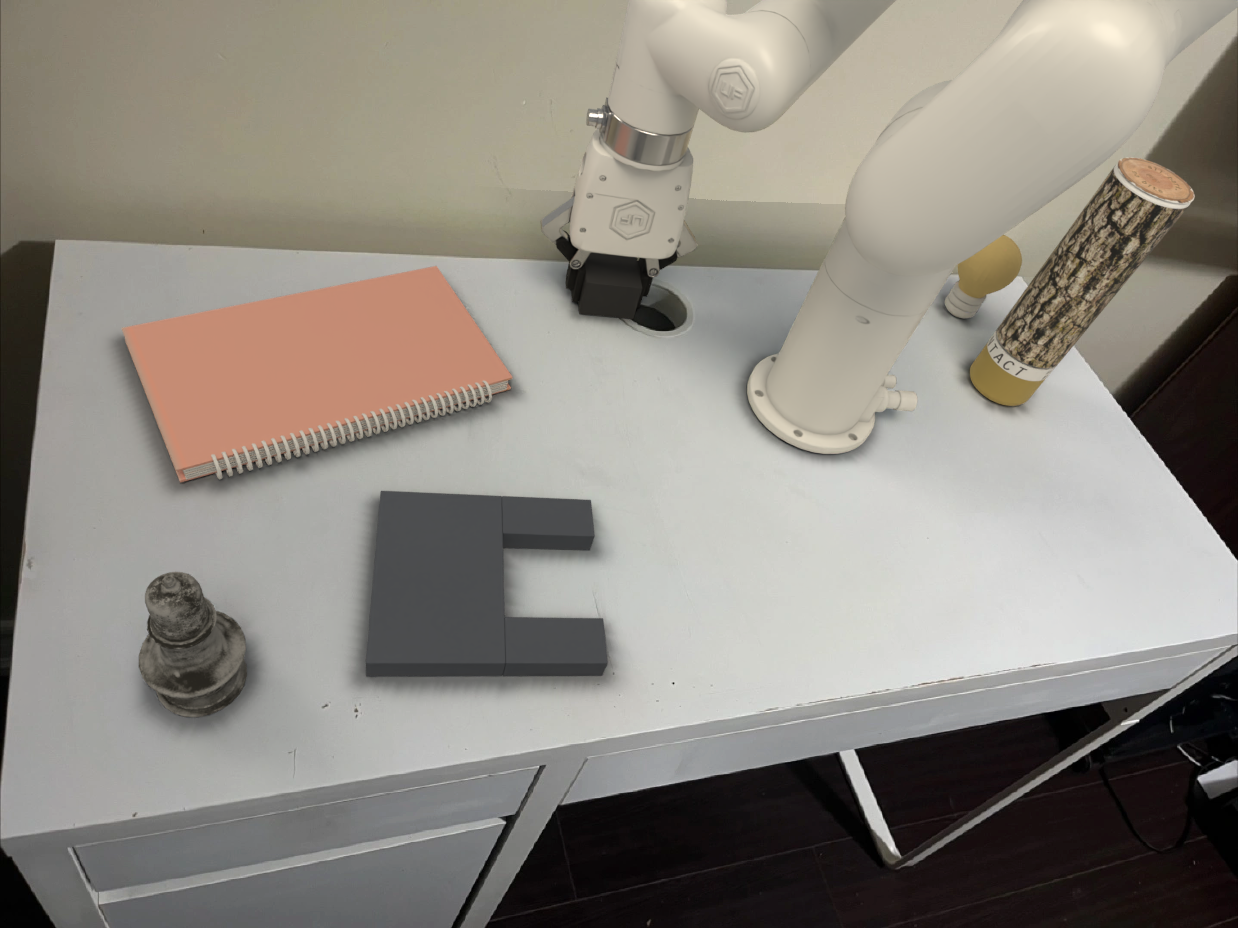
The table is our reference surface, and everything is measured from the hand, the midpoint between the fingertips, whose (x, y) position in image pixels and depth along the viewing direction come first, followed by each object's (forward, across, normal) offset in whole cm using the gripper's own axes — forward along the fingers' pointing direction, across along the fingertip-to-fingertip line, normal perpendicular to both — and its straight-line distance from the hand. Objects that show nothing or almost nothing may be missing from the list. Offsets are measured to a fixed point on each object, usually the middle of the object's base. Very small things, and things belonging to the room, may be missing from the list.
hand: (604, 294), depth 86 cm
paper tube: (+1, +42, -8) cm, 43 cm away
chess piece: (+1, -30, -41) cm, 51 cm away
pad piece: (0, 0, 0) cm, 0 cm away
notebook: (+1, -25, -13) cm, 28 cm away
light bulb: (+1, +42, +4) cm, 42 cm away
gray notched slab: (0, -12, -34) cm, 36 cm away
